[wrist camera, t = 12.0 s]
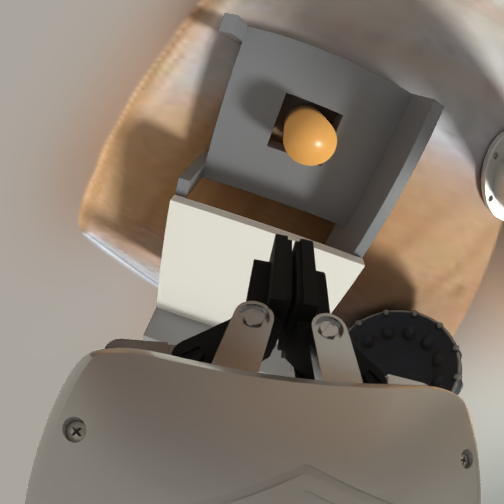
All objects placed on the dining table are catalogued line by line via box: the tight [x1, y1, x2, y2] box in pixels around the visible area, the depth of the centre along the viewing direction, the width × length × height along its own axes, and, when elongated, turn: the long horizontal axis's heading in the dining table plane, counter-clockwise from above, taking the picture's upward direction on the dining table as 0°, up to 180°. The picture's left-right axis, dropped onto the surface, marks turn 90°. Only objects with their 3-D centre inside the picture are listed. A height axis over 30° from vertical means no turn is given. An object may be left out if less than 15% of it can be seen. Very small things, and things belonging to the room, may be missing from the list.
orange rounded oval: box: [283, 105, 337, 166], centre depth 22 cm, size 4×4×7 cm
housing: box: [176, 13, 444, 258], centre depth 26 cm, size 17×30×8 cm, turn 163°
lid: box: [143, 195, 365, 377], centre depth 25 cm, size 17×15×5 cm
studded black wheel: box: [348, 309, 463, 395], centre depth 32 cm, size 11×20×20 cm, turn 105°
